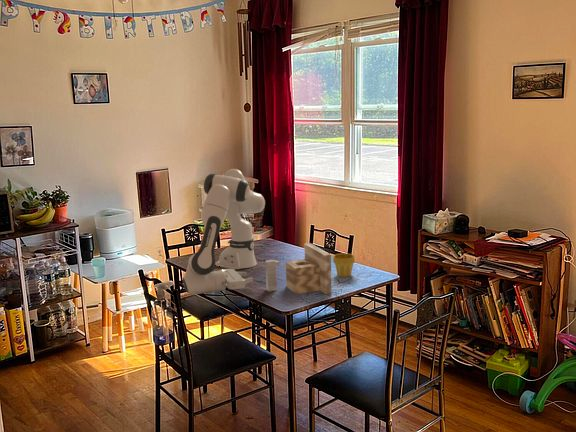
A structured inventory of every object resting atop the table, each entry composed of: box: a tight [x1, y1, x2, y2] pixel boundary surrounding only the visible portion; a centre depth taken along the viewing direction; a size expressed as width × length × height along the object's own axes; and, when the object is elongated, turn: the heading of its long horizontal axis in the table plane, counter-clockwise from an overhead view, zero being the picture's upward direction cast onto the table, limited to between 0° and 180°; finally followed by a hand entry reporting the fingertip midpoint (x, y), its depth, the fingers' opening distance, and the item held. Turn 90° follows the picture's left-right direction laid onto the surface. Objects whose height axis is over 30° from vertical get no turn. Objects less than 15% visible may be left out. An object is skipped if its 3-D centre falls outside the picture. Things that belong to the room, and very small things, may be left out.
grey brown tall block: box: [264, 259, 280, 292], centre depth 265 cm, size 6×3×14 cm, turn 110°
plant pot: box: [333, 252, 355, 278], centre depth 285 cm, size 10×10×10 cm
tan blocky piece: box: [285, 242, 333, 295], centre depth 266 cm, size 15×24×18 cm, turn 20°
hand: (249, 276), depth 261 cm, fingers open, 8 cm apart
